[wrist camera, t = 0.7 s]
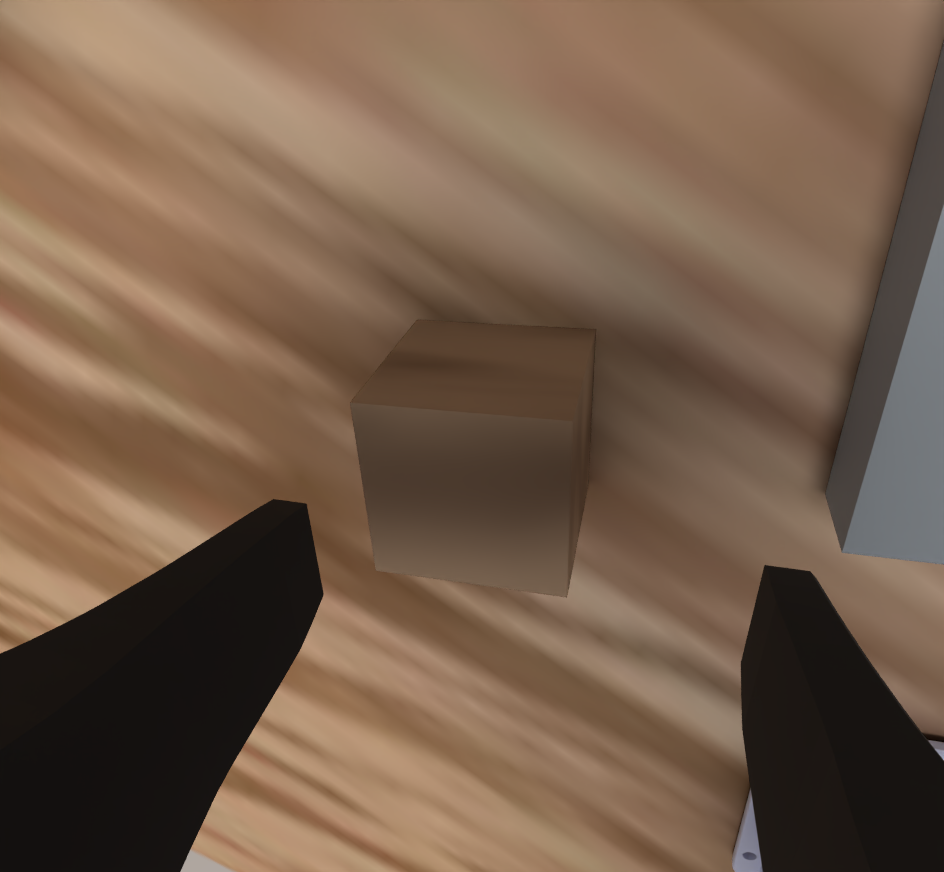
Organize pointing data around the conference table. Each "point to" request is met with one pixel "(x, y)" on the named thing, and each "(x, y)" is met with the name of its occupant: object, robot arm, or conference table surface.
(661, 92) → the conference table surface
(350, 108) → the conference table surface
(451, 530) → the walnut cube
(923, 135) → the base slab
